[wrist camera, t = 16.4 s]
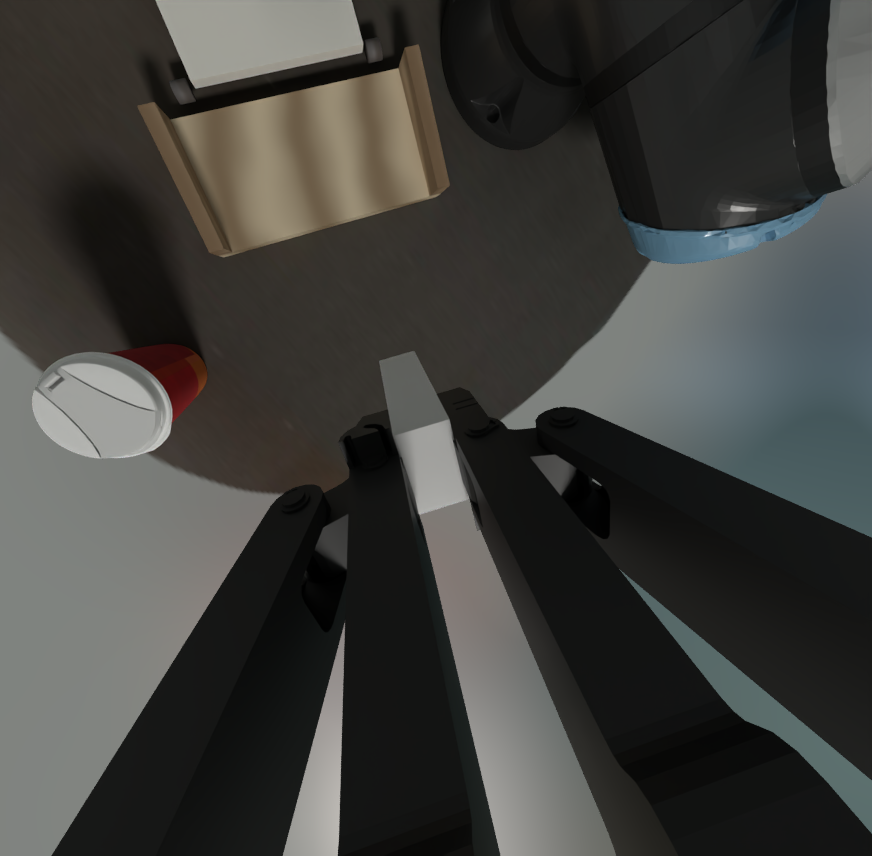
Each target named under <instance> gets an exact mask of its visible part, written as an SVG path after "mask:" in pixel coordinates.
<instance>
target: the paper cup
mask: <svg viewBox="0 0 872 856" xmlns="http://www.w3.org/2000/svg"><path fill="white" fill-rule="evenodd" d="M206 381H207V369H206V366H205V364H204V362H203V360H202V359H201V358H200V357H199V355H197V354H196V353H195V352H194V351H192V350H191V349H189V348H187V347H184V346H181V345H177V344H160V345H153V346H147V347H141V348H135V349H129V350H123V351H118V352H112V353H100V352H85V353H77V354H73V355H70V356H66V357H64V358H62V359H60V360H58V361H56V362H55V363H53V364H52V365H50V366H49V367H48V368H47V369H46V370H45V372H44V373H43V374H42V376H41V378H40V379H39V382H38V385H37V387H35V389H34V392H33V397H32V407H33V412H34V415H35V418H36V420H37V422H38V424H39V426H40V427H41V428H42V430H43V431H44V432H45V433H46V434H47V435H48V436H49V437H50V438H51V439H52V440H53V441H55V442H56V443H57V444H59V445H60V446H62V447H64V448H66V449H67V450H69V451H72V452H74V453H77V454H79V455H83V456H87V457H92V458H98V459H103V458H124V457H125V458H126V457H132V456H136V455H139V454H142V453H145V452H149V451H153V450H155V449H156V448H157V447H159V446H160V445H161V444H162V443H163V442H164V441H165V440H166V439H167V437H168V436H169V434H170V430H171V424H172V423H173V421H174V420H175V419H176V418H177V417H178V416H179V415H180V414H181V413H182V412H183V411H184V410H185V408H186V407H187V406H188V405H189V404H190V403H191V402H192V401H193V400H194V399H195V397H196V396H197V395H198V394H199V393H200V392H201V390H202V389H203V388H204V386H205V384H206Z"/></svg>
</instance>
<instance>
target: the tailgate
mask: <svg viewBox="0 0 872 856" xmlns="http://www.w3.org/2000/svg"><path fill="white" fill-rule="evenodd" d="M156 2H157V5H158V7H159V9H160V12H161V14H162V16H163V19H164V21H165V23H166V26H167V28H168V30H169V32H170V35H171V37H172V39H173V42H174V44H175V46H176V49H177V51H178V53H179V56H180V58H181V60H182V62H183V65H184V67H185V69H186V72H187V74H188V76H189V79H190V81H191V82H192V84H193V85H194V87H195V88H196V89H197V88H201V87H206V86H210V85H215V84H220V83H224V82H229V81H234V80H238V79H243V78H248V77H252V76H257V75H261V74H266V73H271V72H275V71H280V70H285V69H289V68H294V67H298V66H303V65H308V64H312V63H317V62H322V61H326V60H331V59H335V58H340V57H345V56H349V55H354V54H359V53H362V50H363V41H362V37H361V33H360V30H359V26H358V22H357V19H356V15H355V11H354V7H353V4H352V0H156Z"/></svg>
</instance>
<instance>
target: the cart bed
mask: <svg viewBox="0 0 872 856" xmlns="http://www.w3.org/2000/svg"><path fill="white" fill-rule="evenodd" d="M364 50H365V55H366V59H367V61H368V63H372V62H377V61H381V60H382V59H383V53H382V46H381V42H380V39H379V38H378V37H376V38H371V39H366V40H364ZM169 83H170V86H171V88H172V90H173V92H174V94H175V96H176V98H177V100H178V102H179V103H180V105H182V104H187V103H191V102H196V99H195V96H194V94H193V92H192V90H191V88H190V86H189V84H188V82H187V80H186V78H181V79H177V80H172V81H169ZM138 109H139V111H140V113H141V115H142V117H143V119H144V121H145V123H146V125H147V127H148V129H149V131H150V133H151V135H152V137H153V139H154V141H155V143H156V145H157V147H158V149H159V151H160V153H161V155H162V157H163V159H164V161H165V163H166V165H167V167H168V169H169V171H170V173H171V175H172V177H173V180H174V182H175V184H176V186H177V188H178V190H179V192H180V194H181V196H182V198H183V200H184V202H185V204H186V206H187V208H188V210H189V212H190V214H191V216H192V218H193V220H194V222H195V224H196V226H197V228H198V230H199V232H200V234H201V236H202V238H203V240H204V242H205V244H206V246H207V248H208V251H209V253H212V254H215V255H218V256H221V257H227V256H230V255H234V254H237V253H241V252H244V251H248V250H251V249H255V248H258V247H262V246H265V245H269V244H272V243H276V242H279V241H283V240H287V239H290V238H294V237H297V236H301V235H304V234H308V233H311V232H315V231H318V230H322V229H325V228H329V227H332V226H336V225H339V224H343V223H346V222H350V221H353V220H357V219H360V218H364V217H367V216H371V215H374V214H378V213H382V212H385V211H389V210H392V209H396V208H399V207H403V206H406V205H410V204H413V203H417V202H420V201H424V200H427V199H431V198H434V197H437V196H438V195H439V194H441V193H442V192H443V191H444V190H445V189H446V188H447V187H449V186H450V184H449V179H448V175H447V170H446V166H445V161H444V157H443V152H442V148H441V143H440V139H439V134H438V130H437V125H436V121H435V116H434V112H433V107H432V103H431V98H430V94H429V89H428V85H427V80H426V76H425V71H424V67H423V62H422V58H421V53H420V49H419V45H414V46H410V47H405V49H404V52H403V55H402V58H401V61H400V65H399V68H397V69H393V70H388V71H384V72H379V73H375V74H370V75H366V76H362V77H357V78H353V79H348V80H344V81H339V82H335V83H331V84H326V85H322V86H317V87H313V88H308V89H304V90H300V91H295V92H291V93H286V94H282V95H277V96H273V97H269V98H264V99H260V100H255V101H251V102H246V103H242V104H238V105H233V106H229V107H224V108H220V109H216V110H211V111H207V112H202V113H198V114H193V115H189V116H185V117H180V118H176V119H171V120H170V119H169V118H168V117H167V115H166V114H165V113H164V112H163V111H162V110H161V109H160V108H159V107H158V106H157V105H156V103H155V102H153V103H148V104H143V105H139V106H138Z"/></svg>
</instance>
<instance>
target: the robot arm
mask: <svg viewBox="0 0 872 856" xmlns="http://www.w3.org/2000/svg"><path fill="white" fill-rule="evenodd" d="M441 53H442V63H443V69H444V74H445V79H446V82H447V86H448V89H449V92H450V94H451V97H452V99H453V101H454V103H455V105H456V107H457V109H458V111H459V113H460V114H461V116H462V117H463V119H464V120H465V121H466V123H467V124H468V125H469V126H470V128H471V129H472V130H473V131H474V132H475V133H476V134H478V135H479V136H480V137H481V138H483V139H484V140H485V141H487V142H489V143H491V144H493V145H495V146H497V147H500V148H504V149H510V150H521V149H527V148H530V147H533V146H536V145H538V144H540V143H542V142H543V141H545V140H546V139H548V138H549V137H550V136H552V135H553V134H555V133H556V132H557V131H559V130H560V129H561V128H562V127H563V126H564V125H565V124H566V123H567V122H568V121H569V120H570V119H571V118H572V116H573V115H574V114H575V112H576V111H577V109H578V108H579V106H580V105H581V103H582V101H583V99H584V97H585V95H586V98H587V101H588V104H589V108H590V112H591V115H592V119H593V122H594V125H595V128H596V132H597V135H598V138H599V141H600V145H601V148H602V151H603V154H604V158H605V161H606V164H607V167H608V170H609V174H610V177H611V180H612V183H613V187H614V190H615V193H616V196H617V200H618V203H619V207H618V211H619V214H620V217H621V218H622V220H623V221H624V222H625V223H626V225H627V227H628V230H629V233H630V236H631V238H632V241H633V244H634V246H635V248H636V249H637V250H638V252H639V253H640V254H642V255H644V256H646V257H648V258H649V259H651V260H653V261H657V262H662V263H671V264H684V263H696V262H703V261H710V260H715V259H720V258H724V257H728V256H732V255H736V254H739V253H743V252H746V251H749V250H752V249H754V248H756V247H757V246H758V245H759V243H760V242H764V241H773V240H777V239H779V238H781V237H783V236H785V235H787V234H789V233H791V232H793V231H794V230H796V229H798V228H799V227H801V226H802V225H803V224H805V223H806V222H807V221H809V220H810V219H811V218H812V217H813V216H814V215H815V214H816V213H817V212H818V210H819V209H820V206H821V204H822V202H823V201H824V199H825V198H826V196H827V193H831V192H834V191H837V190H840V189H844V188H847V187H850V186H852V185H855V184H857V183H859V182H860V181H861V180H862V179H863V178H864V177H865V176H866V175H867V174H868V173H869V172H870V171H871V170H872V0H447V4H446V7H445V12H444V16H443V22H442V32H441ZM379 363H380V369H381V374H382V379H383V385H384V390H385V396H386V401H387V407H388V410H384V411H381V412H377V413H374V414H371V415H367V416H364V417H362V418H361V420H360V421H359V423H358V424H357V426H356V427H354V428H352V429H350V430H349V431H347V432H346V433H345V434H344V435H343V436H342V437H341V438H340V440H339V442H338V443H339V446H340V448H341V450H342V453H343V455H344V458H345V460H346V462H347V465H348V467H349V469H350V471H349V478H348V479H347V480H346V481H345V482H343V483H342V484H340V485H338V486H337V487H335V488H333V489H331V490H329V491H327V492H325V493H323V491H322V489H321V488H320V487H319V486H317V485H303V486H299V487H295V488H293V489H291V490H289V491H287V492H285V493H284V494H283V495H282V496H280V497H279V498H278V499H276V501H275V502H274V503H273V504H272V505H271V506H270V508H269V510H268V511H267V513H266V514H265V516H264V518H263V519H262V521H261V523H260V524H259V526H258V527H257V529H256V531H255V532H254V534H253V535H252V537H251V538H250V540H249V542H248V543H247V545H246V546H245V548H244V550H243V551H242V553H241V554H240V556H239V558H238V559H237V561H236V562H235V564H234V566H233V567H232V569H231V570H230V572H229V573H228V575H227V577H226V578H225V580H224V582H223V583H222V585H221V586H220V588H219V589H218V591H217V593H216V594H215V596H214V597H213V599H212V601H211V602H210V604H209V605H208V607H207V609H206V610H205V612H204V613H203V615H202V617H201V618H200V620H199V621H198V623H197V625H196V626H195V628H194V629H193V631H192V633H191V634H190V636H189V637H188V639H187V640H186V642H185V644H184V645H183V647H182V648H181V650H180V652H179V653H178V655H177V657H176V658H175V660H174V661H173V663H172V664H171V666H170V668H169V669H168V671H167V672H166V674H165V676H164V677H163V679H162V681H161V682H160V684H159V685H158V687H157V689H156V690H155V691H154V693H153V695H152V696H151V698H150V699H149V701H148V703H147V704H146V706H145V707H144V709H143V711H142V712H141V714H140V715H139V717H138V719H137V720H136V722H135V723H134V725H133V727H132V729H131V730H130V731H129V733H128V735H127V736H126V738H125V739H124V741H123V742H122V744H121V746H120V747H119V749H118V751H117V752H116V754H115V755H114V757H113V758H112V760H111V762H110V763H109V765H108V766H107V768H106V770H105V771H104V773H103V774H102V776H101V778H100V779H99V781H98V782H97V784H96V786H95V787H94V789H93V790H92V792H91V794H90V795H89V797H88V799H87V800H86V801H85V803H84V805H83V807H82V808H81V809H80V811H79V813H78V814H77V816H76V818H75V819H74V821H73V822H72V824H71V825H70V827H69V829H68V830H67V832H66V834H65V835H64V837H63V838H62V840H61V841H60V843H59V845H58V846H57V848H56V849H55V851H54V853H53V854H52V856H283V852H284V848H285V845H286V841H287V837H288V833H289V829H290V826H291V822H292V818H293V814H294V811H295V807H296V803H297V799H298V796H299V792H300V788H301V784H302V780H303V777H304V773H305V769H306V765H307V762H308V758H309V754H310V751H311V746H312V743H313V739H314V735H315V732H316V728H317V724H318V720H319V717H320V713H321V709H322V705H323V702H324V697H325V694H326V690H327V686H328V683H329V679H330V675H331V671H332V668H333V664H334V660H335V656H336V653H337V649H338V645H339V641H340V637H341V634H342V630H343V626H344V623H345V648H344V650H345V651H344V683H343V686H344V687H343V719H342V756H341V791H340V826H339V846H338V856H500V852H499V848H498V843H497V839H496V835H495V831H494V826H493V822H492V818H491V814H490V809H489V805H488V801H487V797H486V792H485V788H484V784H483V780H482V776H481V771H480V767H479V763H478V758H477V754H476V750H475V746H474V742H473V737H472V733H471V729H470V724H469V720H468V716H467V712H466V707H465V703H464V699H463V695H462V690H461V686H460V682H459V677H458V673H457V669H456V665H455V660H454V656H453V652H452V648H451V644H450V639H449V635H448V631H447V626H446V623H445V618H444V614H443V609H442V605H441V601H440V597H439V593H438V588H437V584H436V580H435V575H434V571H433V567H432V563H431V558H430V554H429V550H428V546H427V542H426V538H425V533H424V529H423V525H422V522H421V519H420V516H419V515H420V514H423V513H426V512H429V511H433V510H436V509H439V508H442V507H445V506H448V505H452V504H455V503H458V502H462V501H465V500H468V496H467V493H468V495H469V498H470V502H471V507H472V511H473V515H474V520H475V524H476V528H477V531H478V530H481V532H482V535H483V537H484V539H485V542H486V544H487V546H488V549H489V551H490V554H491V556H492V558H493V561H494V563H495V565H496V568H497V570H498V573H499V575H500V577H501V580H502V582H503V584H504V587H505V589H506V591H507V594H508V596H509V599H510V601H511V603H512V606H513V608H514V610H515V613H516V615H517V617H518V620H519V622H520V625H521V627H522V629H523V632H524V634H525V636H526V639H527V641H528V644H529V646H530V648H531V650H532V653H533V655H534V658H535V660H536V662H537V665H538V667H539V670H540V672H541V674H542V677H543V679H544V681H545V684H546V686H547V688H548V691H549V693H550V696H551V698H552V700H553V703H554V705H555V707H556V710H557V712H558V715H559V717H560V719H561V722H562V724H563V726H564V729H565V731H566V733H567V735H568V738H569V740H570V743H571V745H572V747H573V750H574V752H575V755H576V757H577V759H578V762H579V764H580V766H581V769H582V771H583V774H584V776H585V778H586V780H587V783H588V785H589V788H590V790H591V793H592V795H593V797H594V800H595V802H596V804H597V807H598V809H599V811H600V814H601V816H602V819H603V821H604V823H605V826H606V828H607V831H608V833H609V836H610V838H611V841H612V844H613V847H614V850H615V853H616V856H872V834H871V832H870V831H869V830H868V829H867V828H866V827H865V826H864V824H863V823H862V822H861V821H860V820H859V819H858V817H857V816H856V815H855V814H854V813H853V812H852V811H851V810H850V808H849V807H848V806H847V805H846V804H845V802H844V801H843V800H842V799H841V798H840V797H839V795H838V794H837V793H836V792H835V791H834V790H833V789H832V787H831V786H830V785H829V784H828V783H827V782H826V781H825V780H824V778H823V777H822V776H820V774H819V773H818V772H817V771H816V770H815V769H814V768H813V767H812V766H811V765H810V764H809V763H808V762H807V761H806V760H805V759H804V758H803V757H802V756H801V755H800V754H799V753H798V752H797V751H796V750H795V749H794V748H792V747H791V746H790V745H788V744H787V743H786V742H785V741H783V740H782V739H781V738H780V737H778V736H777V735H775V734H774V733H773V732H771V731H769V730H766V729H764V728H761V727H759V726H757V725H754V724H752V723H749V722H747V721H745V720H744V719H742V718H741V717H740V716H739V715H737V714H736V713H735V712H734V711H733V710H732V709H731V708H730V707H729V706H728V705H727V704H726V702H725V701H724V700H723V699H722V698H721V697H720V696H719V694H718V693H717V692H716V690H715V689H714V688H713V687H712V685H711V684H710V683H709V682H708V681H707V679H706V678H705V677H704V675H703V674H702V673H701V672H700V670H699V669H698V668H697V667H696V665H695V664H694V663H693V662H692V660H691V659H690V658H689V657H688V655H687V654H686V653H685V651H684V650H683V649H682V648H681V646H680V645H679V644H678V643H677V641H676V640H675V639H674V638H673V636H672V635H671V634H670V633H669V631H668V630H667V629H666V628H665V626H664V625H663V624H662V623H661V621H660V620H659V619H658V617H657V616H656V615H655V614H654V612H653V611H652V610H651V609H650V607H649V606H648V605H647V604H646V602H645V601H644V600H643V599H642V597H641V596H640V595H639V594H638V592H637V591H636V590H635V589H634V587H633V586H632V585H631V584H630V582H629V581H628V580H627V578H626V577H625V576H624V575H623V574H622V572H624V573H625V574H626V575H627V576H628V577H630V578H631V579H632V580H633V581H635V582H636V583H637V584H638V585H639V586H640V587H642V588H643V589H644V590H645V591H646V592H648V593H649V594H650V595H651V596H652V597H653V598H655V599H656V600H657V601H658V602H659V603H661V604H662V605H663V606H664V607H665V608H667V609H668V610H669V611H670V612H671V613H673V614H674V615H675V616H676V617H677V618H679V619H680V620H681V621H682V622H683V623H684V624H686V625H687V626H688V627H689V628H691V629H692V630H693V631H694V632H695V633H696V634H698V635H699V636H700V637H701V638H702V639H704V640H705V641H706V642H707V643H708V644H710V645H711V646H712V647H713V648H714V649H716V650H717V651H718V652H719V653H720V654H722V655H723V656H724V657H725V658H726V659H728V660H729V661H730V662H731V663H732V664H734V665H735V666H736V667H737V668H738V669H739V670H741V671H742V672H743V673H744V674H745V675H747V676H748V677H749V678H750V679H751V680H753V681H754V682H755V683H756V684H757V685H759V686H760V687H761V688H762V689H763V690H765V691H766V692H767V693H768V694H769V695H770V696H772V697H773V698H774V699H775V700H777V701H778V702H779V703H780V704H781V705H782V706H784V707H785V708H786V709H787V710H788V711H790V712H791V713H792V714H793V715H795V716H796V717H797V718H798V719H799V720H800V721H802V722H803V723H804V724H805V725H806V726H808V727H809V728H810V729H811V730H812V731H814V732H815V733H816V734H817V735H818V736H820V737H821V738H822V739H823V740H824V741H825V742H827V743H828V744H829V745H831V747H833V748H834V749H835V750H836V751H837V752H839V753H840V754H841V755H842V756H843V757H845V758H846V759H847V760H848V761H849V762H851V763H852V764H853V765H854V766H855V767H857V768H858V769H859V770H860V771H861V772H862V773H864V774H865V775H866V776H867V777H868V778H870V779H871V780H872V538H871V537H869V536H867V535H865V534H862V533H860V532H858V531H856V530H853V529H851V528H849V527H846V526H844V525H842V524H839V523H837V522H835V521H833V520H830V519H828V518H826V517H824V516H822V515H819V514H817V513H815V512H812V511H810V510H808V509H806V508H803V507H801V506H799V505H797V504H794V503H792V502H790V501H787V500H785V499H783V498H780V497H778V496H776V495H774V494H772V493H769V492H767V491H765V490H763V489H760V488H758V487H756V486H754V485H751V484H749V483H747V482H744V481H742V480H740V479H738V478H736V477H733V476H731V475H729V474H726V473H724V472H722V471H719V470H717V469H715V468H713V467H711V466H708V465H706V464H704V463H702V462H699V461H697V460H695V459H693V458H690V457H688V456H686V455H683V454H681V453H679V452H677V451H674V450H672V449H670V448H667V447H665V446H663V445H661V444H659V443H656V442H654V441H652V440H650V439H647V438H645V437H643V436H640V435H638V434H636V433H633V432H631V431H629V430H627V429H625V428H622V427H620V426H618V425H615V424H613V423H611V422H609V421H606V420H604V419H602V418H600V417H597V416H595V415H593V414H590V413H588V412H586V411H584V410H581V409H577V408H571V407H560V408H558V407H557V408H553V409H550V410H547V411H545V412H544V413H542V414H540V415H539V416H538V417H537V419H536V428H530V429H520V430H512V429H507V427H506V426H505V425H504V424H503V423H502V422H501V421H500V420H498V419H495V418H491V417H488V416H487V414H486V413H485V412H484V410H483V409H482V408H481V406H480V405H479V404H478V402H477V401H476V400H475V399H474V397H473V396H472V394H471V393H470V391H468V390H465V389H462V388H460V387H459V388H456V389H452V390H449V391H446V392H442V393H439V394H436V392H435V390H434V388H433V387H432V385H431V383H430V381H429V379H428V377H427V375H426V373H425V371H424V369H423V367H422V365H421V363H420V361H419V359H418V358H417V356H416V354H415V352H414V351H412V352H408V353H405V354H401V355H398V356H394V357H391V358H387V359H384V360H380V361H379ZM592 478H593V479H595V480H596V481H597V482H599V483H600V484H601V485H602V486H600V485H598V484H596V483H595V482H593V481H592ZM466 491H467V492H466ZM619 569H620V570H621V571H622V572H621V571H620V570H619Z"/></svg>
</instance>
